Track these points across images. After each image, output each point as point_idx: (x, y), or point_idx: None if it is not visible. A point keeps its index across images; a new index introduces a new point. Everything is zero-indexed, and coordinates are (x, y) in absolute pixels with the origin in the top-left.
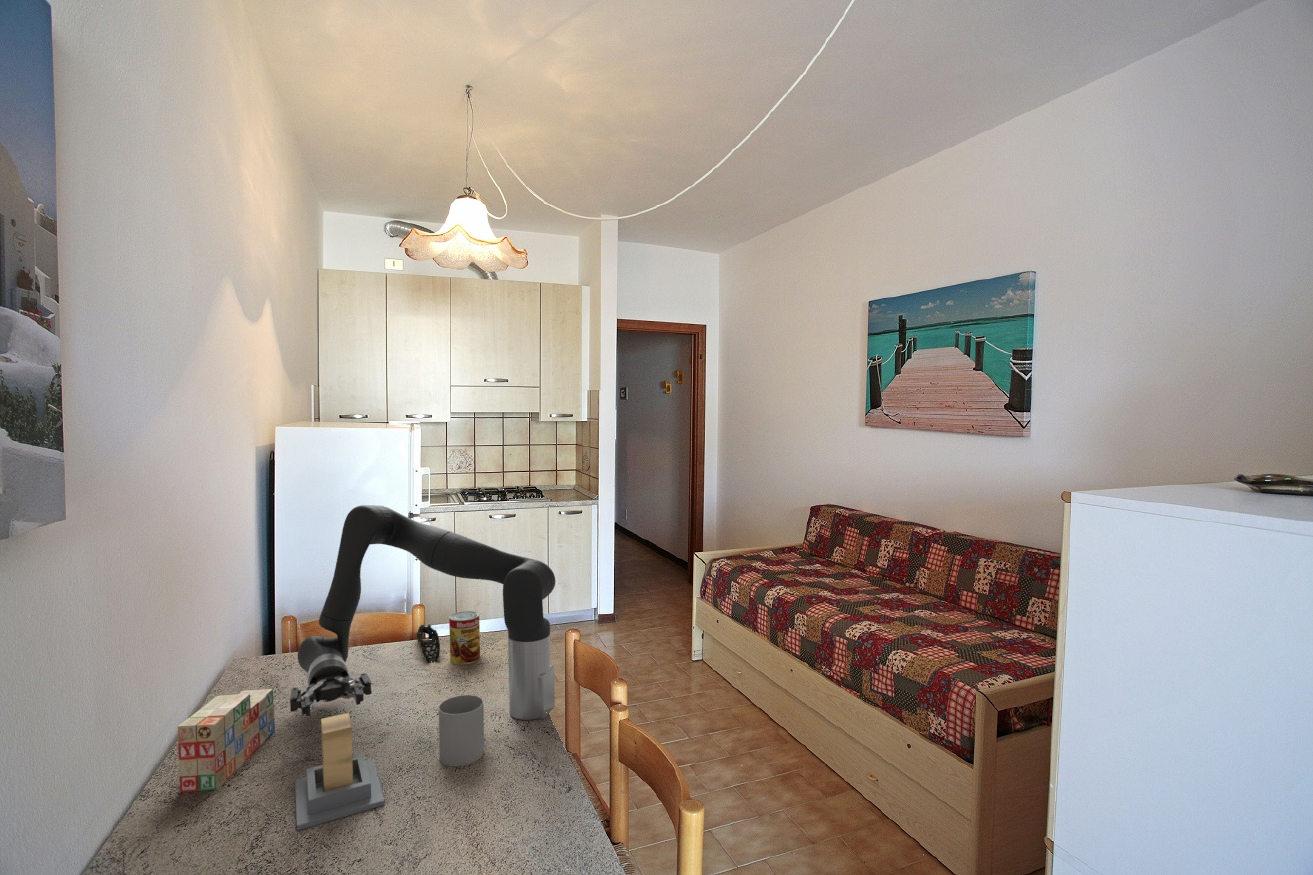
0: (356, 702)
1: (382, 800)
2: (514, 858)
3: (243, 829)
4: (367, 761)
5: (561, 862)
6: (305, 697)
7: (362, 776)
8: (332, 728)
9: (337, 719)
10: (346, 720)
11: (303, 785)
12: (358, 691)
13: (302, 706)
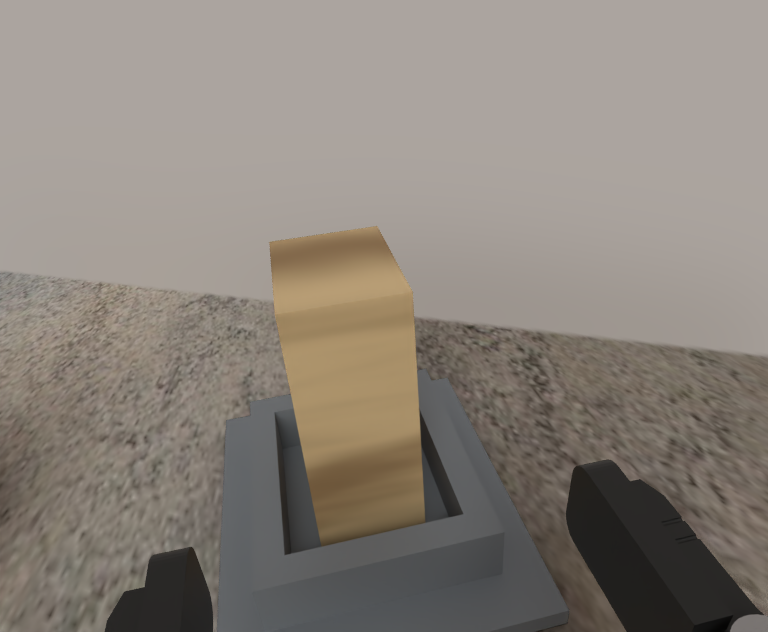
0: (207, 596)
1: (230, 420)
2: (67, 286)
3: (603, 416)
4: None
5: (16, 275)
6: (742, 627)
7: (272, 437)
8: (344, 240)
9: (329, 281)
10: (287, 272)
11: (507, 555)
12: (150, 608)
13: (654, 494)
